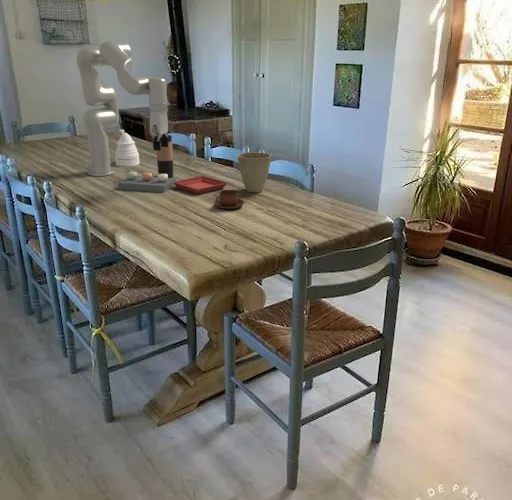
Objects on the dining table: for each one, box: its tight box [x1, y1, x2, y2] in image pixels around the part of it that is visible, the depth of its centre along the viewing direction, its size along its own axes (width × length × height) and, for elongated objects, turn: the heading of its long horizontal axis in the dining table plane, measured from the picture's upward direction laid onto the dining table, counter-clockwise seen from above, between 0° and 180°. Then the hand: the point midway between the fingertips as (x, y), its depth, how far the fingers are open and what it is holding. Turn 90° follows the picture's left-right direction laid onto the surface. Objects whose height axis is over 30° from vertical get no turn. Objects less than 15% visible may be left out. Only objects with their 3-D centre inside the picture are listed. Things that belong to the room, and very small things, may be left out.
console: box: [118, 175, 177, 193], centre depth 238 cm, size 22×14×3 cm, turn 77°
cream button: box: [156, 174, 168, 181], centre depth 235 cm, size 5×5×2 cm
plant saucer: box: [173, 175, 228, 195], centre depth 237 cm, size 18×18×3 cm
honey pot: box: [114, 129, 141, 167], centre depth 281 cm, size 13×13×18 cm
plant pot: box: [237, 151, 272, 193], centre depth 231 cm, size 15×15×16 cm
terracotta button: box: [141, 172, 154, 180], centre depth 236 cm, size 5×5×2 cm
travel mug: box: [156, 134, 174, 178], centre depth 253 cm, size 8×8×20 cm
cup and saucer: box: [213, 189, 244, 210], centre depth 210 cm, size 12×12×6 cm
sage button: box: [126, 171, 138, 179], centre depth 238 cm, size 5×5×2 cm
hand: (161, 148), depth 230 cm, fingers open, 7 cm apart
